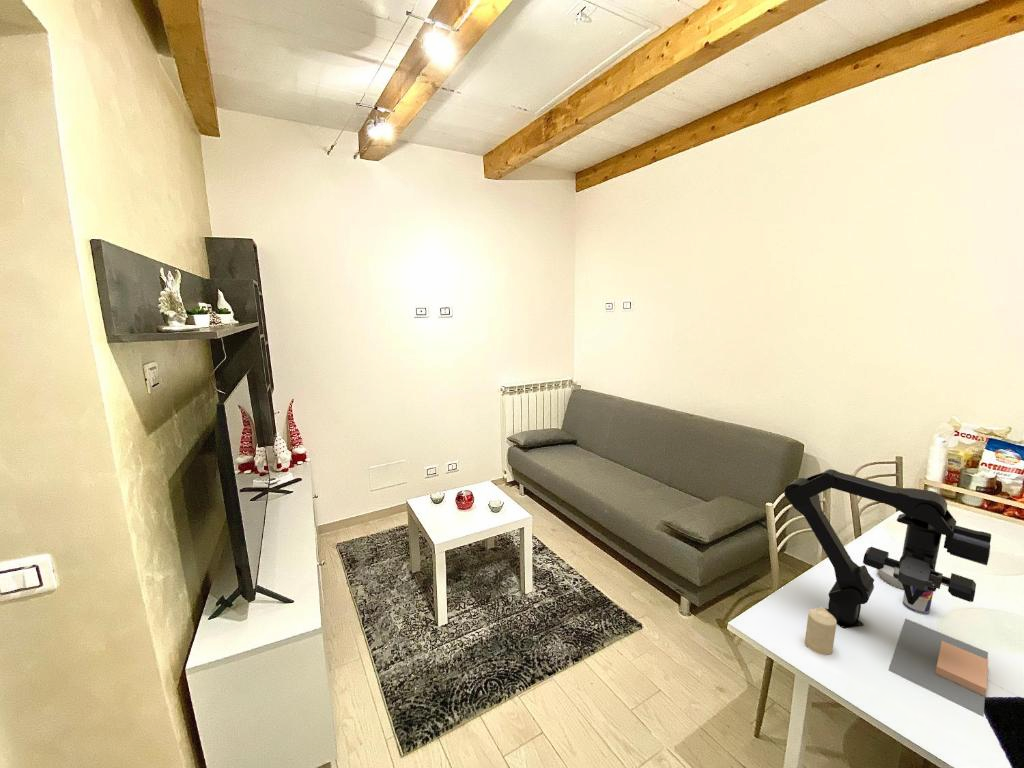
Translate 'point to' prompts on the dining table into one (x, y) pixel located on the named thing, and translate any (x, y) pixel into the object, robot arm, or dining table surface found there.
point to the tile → (963, 668)
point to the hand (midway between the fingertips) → (910, 603)
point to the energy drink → (919, 602)
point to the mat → (932, 664)
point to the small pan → (889, 576)
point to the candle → (820, 631)
